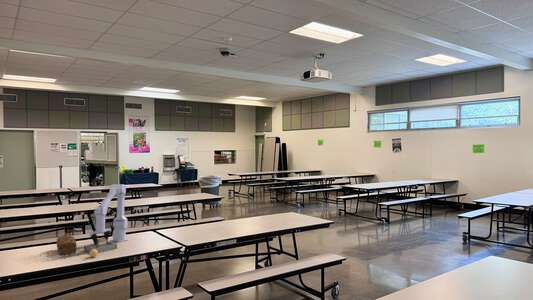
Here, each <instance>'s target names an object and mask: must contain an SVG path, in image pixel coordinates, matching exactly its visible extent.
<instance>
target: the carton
mask: <svg viewBox="0 0 533 300" xmlns="http://www.w3.org/2000/svg"><path fill="white" fill-rule="evenodd" d="M103 246H106V239H105V238H104V237H100V238H97V245H96V248H99V247H103Z"/></svg>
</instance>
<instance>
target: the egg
mask: <svg viewBox="0 0 533 300" xmlns="http://www.w3.org/2000/svg"><path fill="white" fill-rule="evenodd" d="M88 253H89V256H90V257H91V258H96V257H97V256H98V254H99V253H98V251H97V250H96V249H92V250H91V251H90V252H88Z"/></svg>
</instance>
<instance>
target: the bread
mask: <svg viewBox="0 0 533 300" xmlns="http://www.w3.org/2000/svg"><path fill="white" fill-rule="evenodd" d="M55 241H56V248H57V251H58V252H57V253H58V254H59V256H66V255H72V254H76V253H77V241H76V238H75V237H74V236H72V235H67V234H65V235H64V234H63V235H60V236H58V237H56V240H55Z"/></svg>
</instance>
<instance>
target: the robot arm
mask: <svg viewBox="0 0 533 300" xmlns="http://www.w3.org/2000/svg"><path fill="white" fill-rule="evenodd" d="M126 192H127V186H126V185H125V184H123V183H122V184H116V183H115V184H113V183H112V184H110V187H109V192H108V193H107V196H106V198H103V199H102V201H101V202H100V204H99V206H97V207H96V208H94V211H93V214H94V216H95V230H93V231H90V232H89V236H90V238H91V240H92V242H93V243H94V245H97V239H98V234H99V235H100V234H103V238H105V239H106V243H107V241H109V237H110V235H111V232H112V240H111V242H115V243H121V242H125V241H128V238H126V235H127V234H126V229H128V227H129V221H128V218H127V217H126V216H125V199H126V198H125V197H126V194H127V193H126ZM115 195H116V197H117V199H116V217H115V218H113V223H112V227H113V228H114V229H113V231H112V228H109V227H108V228H106V215H107V213H108V209H109V207H110V205H111V204H112V203H111V200H112V199H113V198H114V197H115Z"/></svg>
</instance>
